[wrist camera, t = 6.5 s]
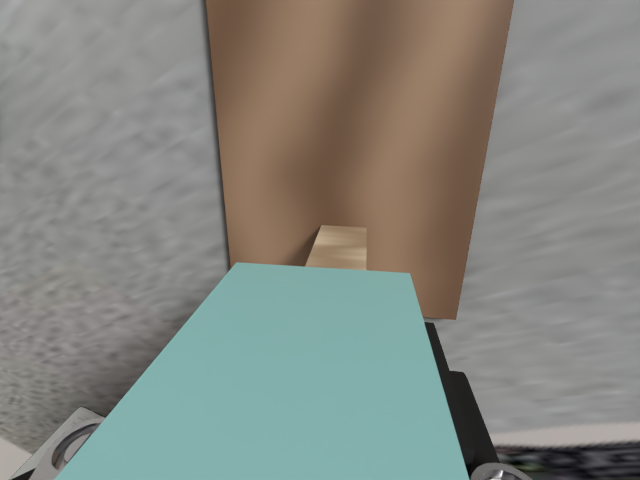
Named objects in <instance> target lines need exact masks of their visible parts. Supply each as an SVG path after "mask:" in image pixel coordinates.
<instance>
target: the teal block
mask: <svg viewBox="0 0 640 480" xmlns="http://www.w3.org/2000/svg"><path fill="white" fill-rule="evenodd" d="M54 480H469V477H468V473H467V470H466V466H465V463H464V459H463V456H462V452H461V449H460V445H459V442H458V438H457V435H456V431H455V428H454V424H453V421H452V417H451V414H450V410H449V407H448V404H447V400H446V397H445V393H444V390H443V386H442V383H441V379H440V376H439V372H438V369H437V365H436V362H435V358H434V355H433V351H432V348H431V344H430V341H429V338H428V334H427V331H426V327H425V324H424V320H423V317H422V313H421V310H420V306H419V303H418V299H417V296H416V292H415V289H414V285H413V282H412V278H411V275H410V273H400V272H384V271H368V270H352V269H336V268H319V267H303V266H287V265H271V264H255V263H239V262H236V263H235V265H234V266H233V267H232V268H231V269H230V271H229V272H228V273H227V274H226V275H225V277H224V278H223V279H222V280H221V281H220V282H219V284H218V285H217V286H216V287H215V288H214V290H213V291H212V292H211V293H210V294H209V296H208V297H207V298H206V299H205V300H204V302H203V303H202V304H201V305H200V306H199V308H198V309H197V310H196V311H195V312H194V313H193V315H192V316H191V317H190V318H189V319H188V321H187V322H186V323H185V324H184V325H183V327H182V328H181V329H180V330H179V331H178V333H177V334H176V335H175V336H174V337H173V339H172V340H171V341H170V342H169V343H168V344H167V346H166V347H165V348H164V349H163V350H162V352H161V353H160V354H159V355H158V356H157V358H156V359H155V360H154V361H153V362H152V364H151V365H150V366H149V367H148V368H147V370H146V371H145V372H144V373H143V374H142V375H141V377H140V378H139V379H138V380H137V381H136V383H135V384H134V385H133V386H132V387H131V389H130V390H129V391H128V392H127V393H126V395H125V396H124V397H123V398H122V399H121V400H120V402H119V403H118V404H117V405H116V406H115V408H114V409H113V410H112V411H111V412H110V414H109V415H108V416H107V417H106V418H105V420H104V421H103V422H102V423H101V424H100V426H99V427H98V428H97V429H96V430H95V431H94V433H93V434H92V435H91V436H90V437H89V439H88V440H87V441H86V442H85V443H84V445H83V446H82V447H81V448H80V449H79V451H78V452H77V453H76V454H75V455H74V457H73V458H72V459H71V460H70V461H69V462H68V464H67V465H66V466H65V467H64V468H63V470H62V471H61V472H60V473H59V474H58V476H57V477H56V478H55V479H54Z"/></svg>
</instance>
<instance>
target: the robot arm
mask: <svg viewBox="0 0 640 480" xmlns="http://www.w3.org/2000/svg"><path fill="white" fill-rule="evenodd" d="M424 324H425V327H426V331H427V334H428V338H429V341H430V344H431V348H432V351H433V355H434V358H435V362H436V365H437V369H438V372H439V376H440V379H441V383H442V386H443V390H444V393H445V397H446V400H447V404H448V407H449V410H450V414H451V417H452V421H453V424H454V428H455V431H456V435H457V438H458V442H459V445H460V449H461V452H462V456H463V459H464V463H465V466H466V470H467V473H468V477H469V480H532V479H531V478H529V477H528V476H527V475H525V474H524V473H522V472H521V471H519V470H517V469H515V468H513V467H511V466H509V465H504V464H500V462H499V459H498V457H497V454H496V452H495V449H494V447H493V444H492V442H491V439H490V436H489V434H488V431H487V429H486V426H485V423H484V421H483V418H482V416H481V413H480V410H479V408H478V405H477V403H476V400H475V398H474V395H473V392H472V390H471V387H470V385H469V382H468V379H467V377H466V375H465V374H464V373H463V372H457V371H449V368H448V365H447V362H446V359H445V356H444V353H443V350H442V347H441V344H440V340H439V337H438V334H437V331H436V328H435V325H434V323H430V322H424ZM105 418H106V417H98V418H93V419H89V420H86V421H84V422H81V423H79V424H77V425H75V426H73V427H72V428H70V429H68V430H67V431H65V432H64V433H63V434H62V435H60V436H59V437H58V438H57V439H56V440H55V441H54V442H53V443H52V444H51V446H50V447H49V448H48V449H47V451H46V452H45V454H44V456H43V457H42V459H41V461H40V462H39V464H38V465H37V467H36V468H34V469H32V470H30V471H28V472H26V473H24V474H21V475H19V476H17V477H15V478H13V479H11V480H54V479H55V478H56V477H57V476H58V474H59V473H60V472H61V471H62V470H63V468H64V467H65V466H66V465H67V464H68V462H69V461H70V460H71V459H72V458H73V457H74V455H75V454H76V453H77V452H78V451H79V449H80V448H81V447H82V446H83V445H84V443H85V442H86V441H87V440H88V439H89V437H90V436H91V435H92V434H93V433H94V431H95V430H96V429H97V428H98V427H99V426H100V424H101V423H102V422H103V421H104V420H105Z"/></svg>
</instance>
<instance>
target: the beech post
mask: <svg viewBox="0 0 640 480" xmlns="http://www.w3.org/2000/svg"><path fill="white" fill-rule="evenodd" d="M366 253H367V228H365V227H345V226H326V225H321V227H320V230H319V232H318V235H317V238H316V240H315V243H314V245H313V248H312V250H311V253H310V255H309V258H308V260H307V263H306V265H305V267H319V268H336V269H352V270H366Z"/></svg>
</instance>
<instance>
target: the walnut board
mask: <svg viewBox="0 0 640 480" xmlns="http://www.w3.org/2000/svg"><path fill="white" fill-rule="evenodd" d="M513 3H514V0H206V8H207V18H208V29H209V40H210V51H211V61H212V72H213V83H214V94H215V104H216V115H217V126H218V137H219V147H220V158H221V169H222V180H223V190H224V201H225V212H226V223H227V233H228V244H229V255H230V266H231V268H232V267H233V266H234V265H235V263H236V262H239V263H255V264H271V265H287V266H303V267H305V265H306V263H307V260H308V258H309V255H310V253H311V250H312V248H313V245H314V243H315V240H316V238H317V235H318V232H319V230H320V227H321V225H326V226H345V227H365V228H367V253H366V270H368V271H384V272H400V273H410V275H411V278H412V282H413V285H414V289H415V292H416V296H417V299H418V303H419V306H420V310H421V313H422V317H427V318H440V319H452V320H456V316H457V310H458V305H459V299H460V294H461V288H462V283H463V277H464V272H465V267H466V261H467V256H468V250H469V245H470V239H471V234H472V228H473V223H474V217H475V212H476V206H477V201H478V195H479V190H480V184H481V179H482V173H483V168H484V162H485V157H486V151H487V146H488V140H489V135H490V129H491V124H492V118H493V113H494V108H495V102H496V97H497V91H498V86H499V80H500V75H501V69H502V64H503V58H504V53H505V47H506V42H507V36H508V31H509V25H510V20H511V14H512V9H513Z"/></svg>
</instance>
